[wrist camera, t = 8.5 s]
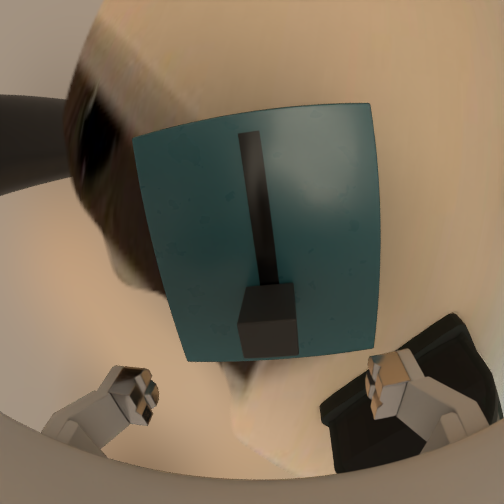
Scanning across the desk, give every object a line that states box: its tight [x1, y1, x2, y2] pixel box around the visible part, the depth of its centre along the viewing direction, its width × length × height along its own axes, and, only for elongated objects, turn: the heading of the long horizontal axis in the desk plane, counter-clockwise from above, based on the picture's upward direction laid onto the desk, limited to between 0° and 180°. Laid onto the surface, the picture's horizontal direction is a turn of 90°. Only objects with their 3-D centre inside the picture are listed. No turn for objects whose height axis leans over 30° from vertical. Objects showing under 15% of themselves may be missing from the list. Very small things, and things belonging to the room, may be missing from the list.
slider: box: [237, 283, 299, 359], centre depth 13 cm, size 2×2×4 cm
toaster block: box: [132, 103, 381, 362], centre depth 17 cm, size 13×15×6 cm
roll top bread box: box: [320, 313, 503, 474], centre depth 18 cm, size 17×14×20 cm
